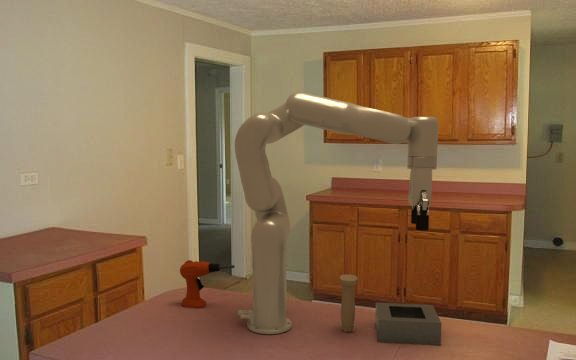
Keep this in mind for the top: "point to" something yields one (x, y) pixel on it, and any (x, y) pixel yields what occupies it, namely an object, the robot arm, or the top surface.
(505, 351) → the top surface
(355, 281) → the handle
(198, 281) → the toy drill
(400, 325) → the socket block
